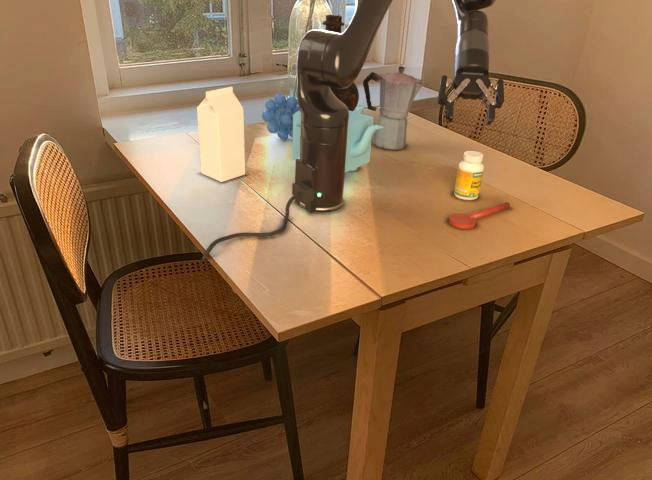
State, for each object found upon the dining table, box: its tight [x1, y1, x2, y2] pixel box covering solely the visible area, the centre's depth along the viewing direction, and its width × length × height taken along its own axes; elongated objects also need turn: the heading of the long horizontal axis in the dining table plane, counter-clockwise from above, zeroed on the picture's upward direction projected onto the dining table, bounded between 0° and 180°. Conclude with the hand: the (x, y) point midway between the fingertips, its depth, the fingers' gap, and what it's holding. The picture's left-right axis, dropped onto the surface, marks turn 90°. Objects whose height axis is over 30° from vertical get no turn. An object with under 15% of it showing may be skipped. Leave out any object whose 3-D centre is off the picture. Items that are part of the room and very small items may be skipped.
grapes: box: [261, 93, 300, 140], centre depth 151 cm, size 12×7×12 cm, turn 105°
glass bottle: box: [296, 14, 360, 111], centre depth 165 cm, size 18×18×28 cm
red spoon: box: [448, 201, 511, 230], centre depth 119 cm, size 17×5×1 cm, turn 125°
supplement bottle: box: [453, 150, 485, 201], centre depth 125 cm, size 5×5×10 cm
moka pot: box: [362, 66, 426, 151], centre depth 149 cm, size 10×15×20 cm, turn 89°
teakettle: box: [291, 103, 384, 174], centre depth 134 cm, size 19×19×15 cm
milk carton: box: [196, 86, 246, 183], centre depth 127 cm, size 7×7×19 cm
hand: (470, 121), depth 129 cm, fingers open, 8 cm apart
